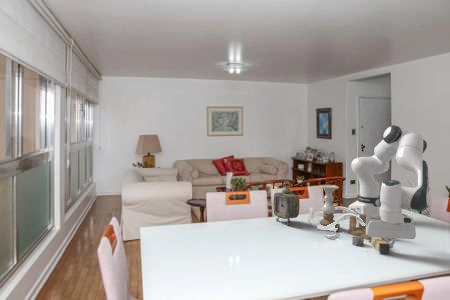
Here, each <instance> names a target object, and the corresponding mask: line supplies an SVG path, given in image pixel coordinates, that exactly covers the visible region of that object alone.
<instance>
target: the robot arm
mask: <svg viewBox="0 0 450 300" xmlns="http://www.w3.org/2000/svg"><path fill="white" fill-rule="evenodd" d="M427 148H428V143H427V141H426V140H425V139H424V138H423V137H422V136H421V135H420V134H418V133H415V132H412V131H408V130H407V129H404V128H401V127H400V126H397V125H394V124H393V125H389V126H388V127H387V128H386V129H385V131H384V132H383V135H382V140H381V141H380V142H379V143H378V144H377V145H376V146H375V147H374V151H373V153H374V154H373V155H372V156H360V157H359V156H358V157H356V158H354V159H353V160H352V161H351V164H350V167H351V170H352V172H353V173H355V175H356V177H357V179H358V182H359V194H358V195H356V196H355V198H356V201H354V202H352V203H350V204H349V205H348V207H347V210H348V209H351V210H353V211H354V212H355V213H356V214H357V215H358V216H359V215H360V214H365V215H366V235H367V236H368V237H378V238H384V241H385V242H386V243H387V244H389V245H390V248H392V249H393V248H394V245H395V244H396V241H397V239H398V240H399V239H401V240H402V239H403V240H414V239H416V235H417V234H416V233H417V231H416V225H415V224H414V221H415V220H414V218H413V217H412V216H409V215H408V214H404V213H403V210H402V209H411V210H413V211H418V212H422V211H424V210H427V208H429V206H430V203H431V202H430V201H431V199H430V194H429V167H428V162H427V161H426V160H424V159H423V154H424V153H425V151H426V150H427ZM394 157H395V161H396V163H397V165H399V167H401V168H402V169H404V170H405V171H408V172H412V173H413V174H415V175H417V186H416V187H410V186H402V183H401V181H399V180H396V179H388V180H384V181H382V182H381V186H380V184H379V182H378V181H376V180H375V177H374V175H380V174H383V173H386V172H388V170H389V169H390V161H391V160H392V159H393V158H394ZM388 238H389V239H391V241H390V242H389V239H388Z"/></svg>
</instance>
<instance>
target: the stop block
mask: <svg viewBox="0 0 450 300" xmlns="http://www.w3.org/2000/svg"><path fill="white" fill-rule="evenodd" d="M351 245H352V246H356V247H358V246H363V245H365V241H364V237H362V236H352V244H351Z"/></svg>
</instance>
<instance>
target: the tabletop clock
mask: <svg viewBox="0 0 450 300" xmlns="http://www.w3.org/2000/svg"><path fill="white" fill-rule="evenodd" d="M285 183H288V184H289V186H288V185H285ZM282 186H283V187H284V188H283V189H282V191H281V192H274V195H273V213H274V215H275V216H276V217H277V218H276V219H275V221H276V222H279V221H280V220H279V219H283V220H287V223H286V226H290V223H291V219H297V217H298V216H299V214H300V197H299V196H298V195H296V193H293V192H292V191H291V190H290V188H291V183H290V181H288V180H284V181H283V182H282Z"/></svg>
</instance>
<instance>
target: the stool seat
mask: <svg viewBox="0 0 450 300" xmlns="http://www.w3.org/2000/svg"><path fill="white" fill-rule="evenodd" d="M359 218H361V219H362V220H363V222H364V223H365V224H366V215H365V214H360V215H359ZM357 220H358V219H357V217H356V216H350V217H349V228H348V232H347V233H348V235H352V236H354V237H356V236H362V237H364V239H365V240H367V241H370V237H368V236H367V235H366V225H365V226H362V225H361V224H360V223H359V222H358V224H359V225H358V226H357ZM382 239H383V240H384V238H382ZM389 239H390V238H388V240H389ZM384 241H385V240H384Z"/></svg>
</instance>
